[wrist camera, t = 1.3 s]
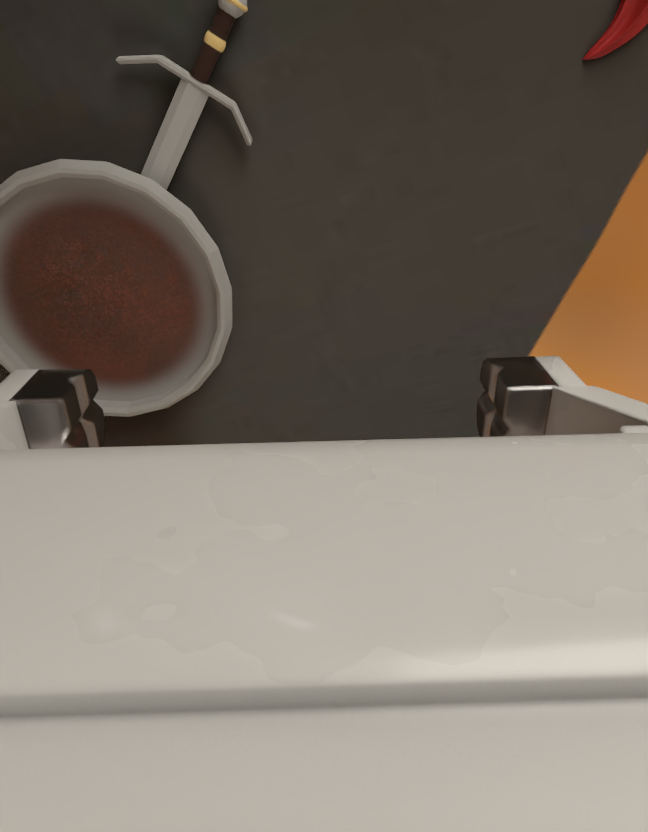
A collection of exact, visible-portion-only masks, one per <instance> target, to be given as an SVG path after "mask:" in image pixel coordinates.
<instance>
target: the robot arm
mask: <svg viewBox="0 0 648 832" xmlns="http://www.w3.org/2000/svg"><path fill="white" fill-rule="evenodd" d="M480 381H481V383H482V385H483V387H484V389H485V390H486V391H485V392H484V393H483V394H482V395H481V396H480V398H479V399H478V402H477V428H478V432H479V435H480V437H462V438H424V439H387V440H350V441H313V442H275V443H238V444H201V445H164V446H127V447H102V445H103V443H104V438H105V431H106V430H105V418H104V413H103V409H102V408H101V407H100V406H99V405H98V404H97V403H96V402H95V401H94V400H93V399H94V398H95V396H96V394H97V392H98V390H99V389H98V385H97V381H96V377H95V375H94V373H93V372H92V370H91V369H46V370H42V369H22V370H14V371H13V372H12V373H11V374H10V375H9V376H8V377H7V378H6V379H5V380H3V381H2V382H1V383H0V832H648V404H646V403H643V402H640V401H637V400H634V399H631V398H628V397H625V396H622V395H619V394H617V393H614V392H611V391H608V390H605V389H602V388H599V387H596V386H586V385H585V384H584V383H583V382H582V381H581V380H580V378H579V377H578V376H577V375H576V374H575V373H574V372H573V371H572V370H571V369H570V368H569V367H568V366H567V365H566V364H565V362H563V360H562V359H561V358H560V357H558V356H545V357H533V356H532V357H531V356H530V357H509V358H487V359H486V360H484V361H483V365H482V368H481V375H480Z"/></svg>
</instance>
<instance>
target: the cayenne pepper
mask: <svg viewBox="0 0 648 832" xmlns="http://www.w3.org/2000/svg"><path fill="white" fill-rule="evenodd" d="M647 24H648V0H621V2H620V5H619V8H618V11H617V13H616V15H615V17H614V19H613V21H612V23H611V25H610V26H609V28H608V29H607V31H606V32H605V33H604V34H603V36H602V37H601V38H600V39H599V40H598V41H597V42H596V44H595V45H594V46H593V47H592V48H591V49H590V50H589V51H588V52H587V53H586V55H585V56H584V58H583V59H584V60H590V59H596V58H599V57H602V56H604V55H606V54H608V53H610V52H611V51H613V50H615V49H616V48H618V47H620V46H621V45H623V44H625V43H626V42H627V41H629V40H630V39H632V38H633V37H634V36H635V35H636V34H638V33H639V32H640V31H641V30H642V29H643V28H644V27H645V26H646V25H647Z"/></svg>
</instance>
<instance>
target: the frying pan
mask: <svg viewBox="0 0 648 832" xmlns="http://www.w3.org/2000/svg"><path fill="white" fill-rule="evenodd" d="M218 5H219V8H218V11H217V13H216V15H215V18H214V20H213V22H212V25H211V27H210V29H209V30H208V31H207V32H206V34H205V36H204V43H203V46H202V48H201V50H200V53H199V55H198V57H197V60H196V62H195V64H194V67H193V69H192V71H191V73H189V72H188V71H186V70H185V69H183V68H182V67H180V66H179V65H177V64H175V63H174V62H172V61H171V60H169V59H168V58H166V57H164V56H162V55H138V56H119V57H117V58H116V61H117V62H118V63H119V64H139V63H158V64H160V65H161V66H163V67H164V68H166V69H167V70H169V71H171V72H172V73H174V74H175V75H177V76H178V77H180V78H181V80H180V83H179V85H178V87H177V90H176V92H175V94H174V97H173V99H172V102H171V104H170V106H169V109H168V111H167V113H166V116H165V118H164V120H163V123H162V125H161V128H160V130H159V132H158V135H157V137H156V139H155V142H154V144H153V146H152V149H151V151H150V154H149V156H148V158H147V161H146V163H145V165H144V168H143V170H142V172H141V175H140V174H137V173H135V172H132V171H130V170H127V169H125V168H122V167H119V166H117V165H114V164H112V163H109V162H106V161H88V160H71V159H58V160H54V161H51V162H47V163H44V164H40V165H37V166H34V167H30V168H27V169H23V170H20V171H17V172H16V173H14V174H13V175H12V176H11V177H9V178H8V179H7V180H6V181H4V182H3V183H2V184H1V185H0V363H1V364H2V365H3V366H4V367H5V368H6V369H7V370H8V372H9V373H10V374H11V373H12V372H13V371H14V370H22V369H42V370H46V369H91V370H92V372H93V373H94V375H95V377H96V381H97V385H98V389H99V390H98V392H97V394H96V396H95V398H94V399H93V400H94V401H95V402H96V403H97V404H98V405H99V406H100V407H101V408H102V409H103V413H104V416H124V417H131V416H136V415H140V414H144V413H148V412H152V411H157V410H161V409H165V408H168V407H170V406H172V405H173V404H175V403H177V402H178V401H180V400H182V399H183V398H185V397H186V396H188V395H190V394H191V393H193V392H195V391H196V390H198V389H199V388H200V386H201V385H202V384H203V383H204V382H205V380H206V379H207V378H208V377H209V375H210V374H211V373H212V372H213V370H214V369H215V368H216V367H217V366H218V364H219V363H220V362H221V359H222V356H223V353H224V350H225V347H226V344H227V341H228V338H229V335H230V333H231V330H232V287H231V284H230V281H229V278H228V275H227V272H226V269H225V266H224V263H223V260H222V258H221V255H220V252H219V249H218V247H217V245H216V244H215V242H214V241H213V240H212V238H211V237H210V235H209V234H208V233H207V231H206V230H205V228H204V227H203V226H202V224H201V223H200V222H199V220H198V219H197V217H196V216H195V215H194V213H193V212H192V210H191V209H190V208H188V207H187V206H186V205H184V204H183V203H182V202H181V201H179V200H178V199H177V198H175V197H174V196H173V195H172V194H170V193H169V192H168V191H167V188H168V186H169V184H170V182H171V179H172V177H173V175H174V173H175V170H176V168H177V166H178V164H179V161H180V159H181V157H182V155H183V152H184V150H185V148H186V146H187V144H188V141H189V139H190V137H191V135H192V132H193V130H194V128H195V126H196V123H197V121H198V119H199V117H200V114H201V112H202V110H203V108H204V105H205V103H206V101H207V99H208V97H209V96H210V97H212V98H213V99H215V100H216V101H218V102H220V103H221V104H223V105H224V106H226V107H228V108H229V109H231V110H232V113H233V115H234V117H235V119H236V122H237V124H238V126H239V128H240V130H241V133H242V135H243V137H244V139H245V141H246V144H247V145H251V144H252V137H251V135H250V133H249V131H248V128H247V126H246V124H245V122H244V119H243V117H242V115H241V113H240V110H239V108H238V106H237V104H236V102H235V101H233V100H232V99H230V98H229V97H227V96H226V95H224V94H222V93H221V92H219V91H218V90H216V89H215V88H213V87H211V86H210V85H208V84H207V83H208V80H209V78H210V76H211V74H212V71H213V69H214V67H215V65H216V62H217V60H218V58H219V56H220V53H222V52H223V51H224V49H225V47H226V40H227V37H228V35H229V33H230V31H231V28H232V26H233V24H234V22H235V19H236V18H238V17H240V16H241V15H243V13H244V12H247V10H248V9H247V0H218Z"/></svg>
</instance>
